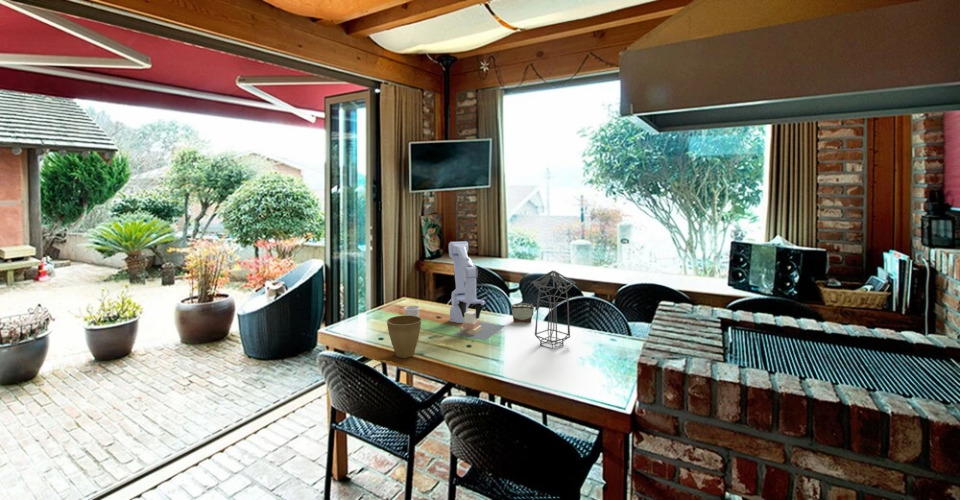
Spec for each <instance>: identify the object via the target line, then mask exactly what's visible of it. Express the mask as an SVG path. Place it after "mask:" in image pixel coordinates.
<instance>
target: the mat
mask: <svg viewBox="0 0 960 500" xmlns="http://www.w3.org/2000/svg"><path fill="white" fill-rule="evenodd" d="M479 325H481V326H482V331H480V332H479V333H477V334H476V335H471V334H464V333H460V330H459V331H457V332H455V333H453V334H452V335H453V336H459V337H465V338H472V339H477V340H483V341H487V340H489V339H490V338H491V337H492V336H493V335H495V334H496V333H498V332H499V331H501V329H504V327H505V325H503V324H495V323H487V322H482V321H479Z"/></svg>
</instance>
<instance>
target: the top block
mask: <svg viewBox="0 0 960 500" xmlns="http://www.w3.org/2000/svg"><path fill="white" fill-rule="evenodd" d="M464 318H465V323H470V324H473V323H475V322H477V321H478V319H476V310H468V311H467V312H465V313H464Z"/></svg>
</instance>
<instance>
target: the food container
mask: <svg viewBox="0 0 960 500" xmlns="http://www.w3.org/2000/svg"><path fill="white" fill-rule="evenodd" d="M534 308H535V307H534V305H533V304H532V303H527V302H526V303H525V302H520V303H513V304H512V305H511V307H510V310H511V311H512V322H513V323H526V324H528V323H529V324H531V323H532V319H533V310H535V309H534Z"/></svg>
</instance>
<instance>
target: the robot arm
mask: <svg viewBox="0 0 960 500" xmlns="http://www.w3.org/2000/svg"><path fill="white" fill-rule="evenodd" d="M468 252H469V243H468V241H466V240H465V241H450V242H449V243H448V256H449V258H450V259H452V262H453V269H454V271H453V272H454V281H455V289H454V290H453V291H451V301H450V302H451V307H450V309H449V322H451V323H453V322H454V323H458V324H463V323H464V322H465V318H464V313H465V312H467V311H469V307H470V305H471V304H474V309H475V312H476V319H477V320H478V319H480V316H481V312H482V309H483V307H484V305H485V302H486V301H485V300H483V299H478V298H477V279H478V275H479V272H478V270H479V269H478V267H477V266H475V265H474V264H473V261H472V259H471V257H469V256H468Z"/></svg>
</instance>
